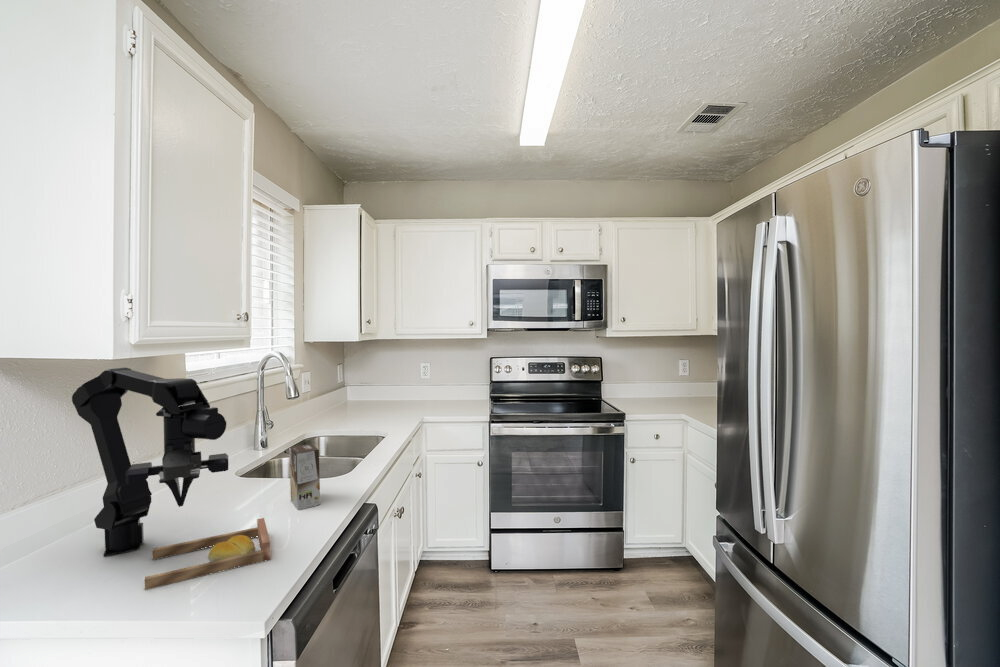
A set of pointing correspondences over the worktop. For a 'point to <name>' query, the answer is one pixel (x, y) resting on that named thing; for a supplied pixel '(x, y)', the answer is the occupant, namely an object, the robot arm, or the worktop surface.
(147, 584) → the guide channel
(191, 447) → the robot arm
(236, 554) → the bread roll
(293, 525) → the worktop surface
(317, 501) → the coffee box
